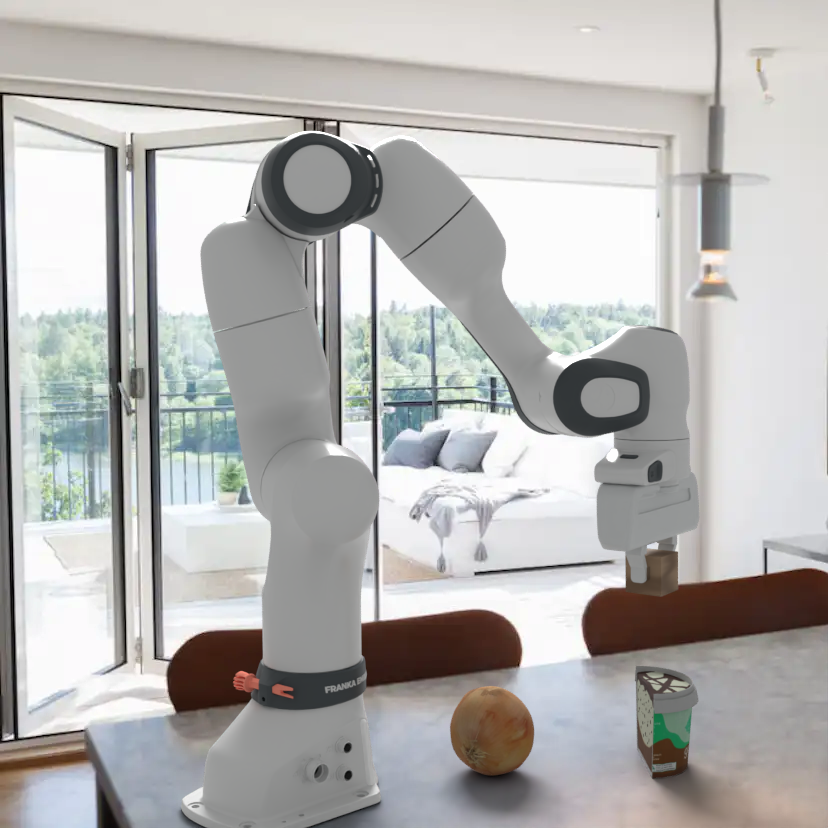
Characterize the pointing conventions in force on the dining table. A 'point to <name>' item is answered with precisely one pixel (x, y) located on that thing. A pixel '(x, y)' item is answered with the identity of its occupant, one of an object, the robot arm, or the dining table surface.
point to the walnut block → (656, 574)
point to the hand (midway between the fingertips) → (651, 577)
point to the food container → (664, 719)
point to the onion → (492, 730)
